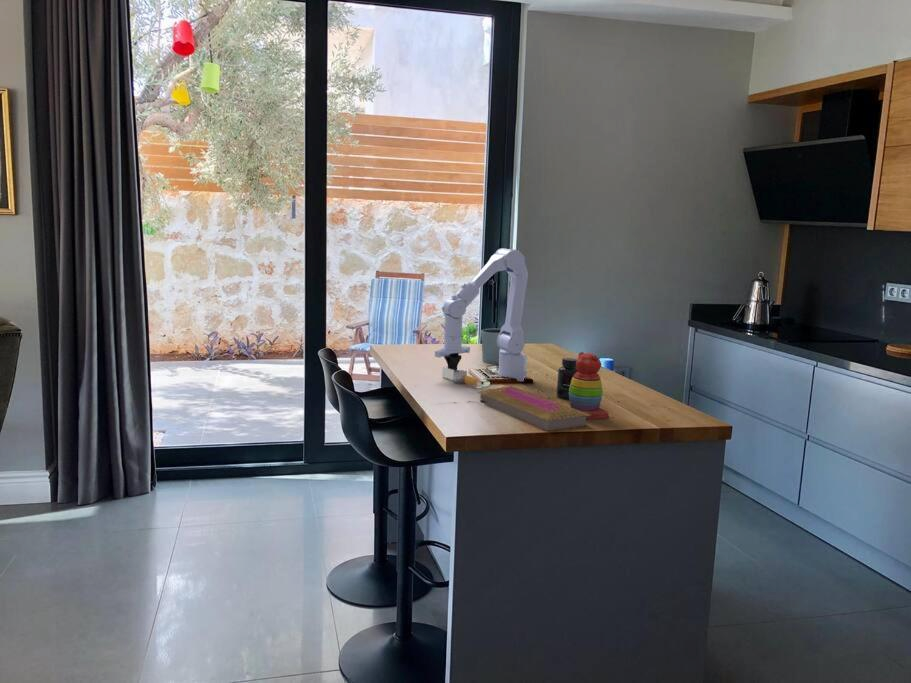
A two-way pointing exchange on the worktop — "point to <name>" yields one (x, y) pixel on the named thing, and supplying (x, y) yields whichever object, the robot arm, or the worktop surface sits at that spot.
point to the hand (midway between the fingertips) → (452, 376)
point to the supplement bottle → (565, 377)
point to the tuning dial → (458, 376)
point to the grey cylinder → (490, 346)
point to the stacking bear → (587, 387)
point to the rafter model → (531, 400)
